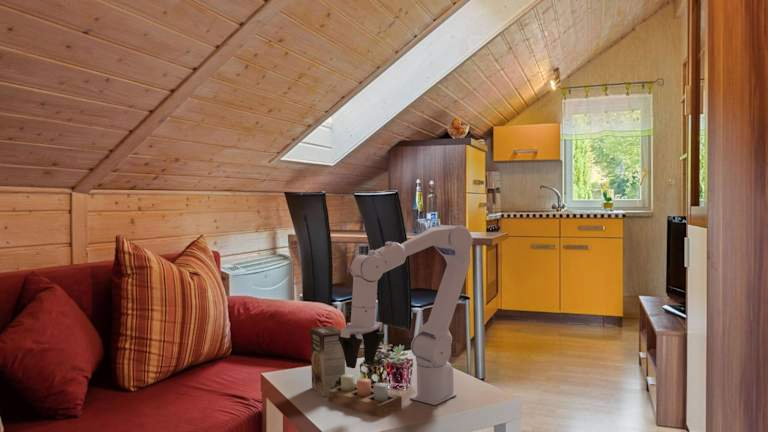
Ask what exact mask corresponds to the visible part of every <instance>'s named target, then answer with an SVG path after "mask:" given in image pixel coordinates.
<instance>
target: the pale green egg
mask: <svg viewBox="0 0 768 432" xmlns="http://www.w3.org/2000/svg"><path fill="white" fill-rule="evenodd" d="M355 384H356V383H355V375H354V374H351V373H350V374H349V373H347V374H346V373H345V375H342V376H341V391H343V392H346V393H349V392H352V391H355Z"/></svg>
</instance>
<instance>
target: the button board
mask: <svg viewBox="0 0 768 432" xmlns="http://www.w3.org/2000/svg"><path fill="white" fill-rule="evenodd" d="M327 398H328V399H327V401H328V402H329V403H331V404H334V405H337V406H340V407H344V408H347V409H351V410H353V411H357V412H360V413H364V414H365V415H370V416H372V417H376V418H382V417H385V416H387V415H389V414H391V413H394V412H396V411H398V410H400V409H403V408H402V407H403V402H402V401H403V400H402V399H403V398H402V396H400V395H396V394H393V393H390V392H388V401H385V402H383V403H381V402H377V401H374V388H372V387H371V395H370V396H368V397H365V398H363V397H360V396H357V383H355V391H352V392H349V393H346V392H343V391H341V386H340V387H337V388H334V389H331V390H328V396H327Z"/></svg>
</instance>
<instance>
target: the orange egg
mask: <svg viewBox="0 0 768 432" xmlns="http://www.w3.org/2000/svg"><path fill="white" fill-rule="evenodd" d="M356 384H357V396H360V397H363V398H365V397H368V396H370V395H371V388H372V380H371V379H370V378H367V377H365V378H364V377H363V378H359V379H357V380H356Z"/></svg>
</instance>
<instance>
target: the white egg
mask: <svg viewBox="0 0 768 432" xmlns="http://www.w3.org/2000/svg"><path fill="white" fill-rule="evenodd" d="M373 389H374V401H377V402H381V403H383V402H385V401H388V393H389V384H388V383H386V382H376V383H374V384H373Z"/></svg>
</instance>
